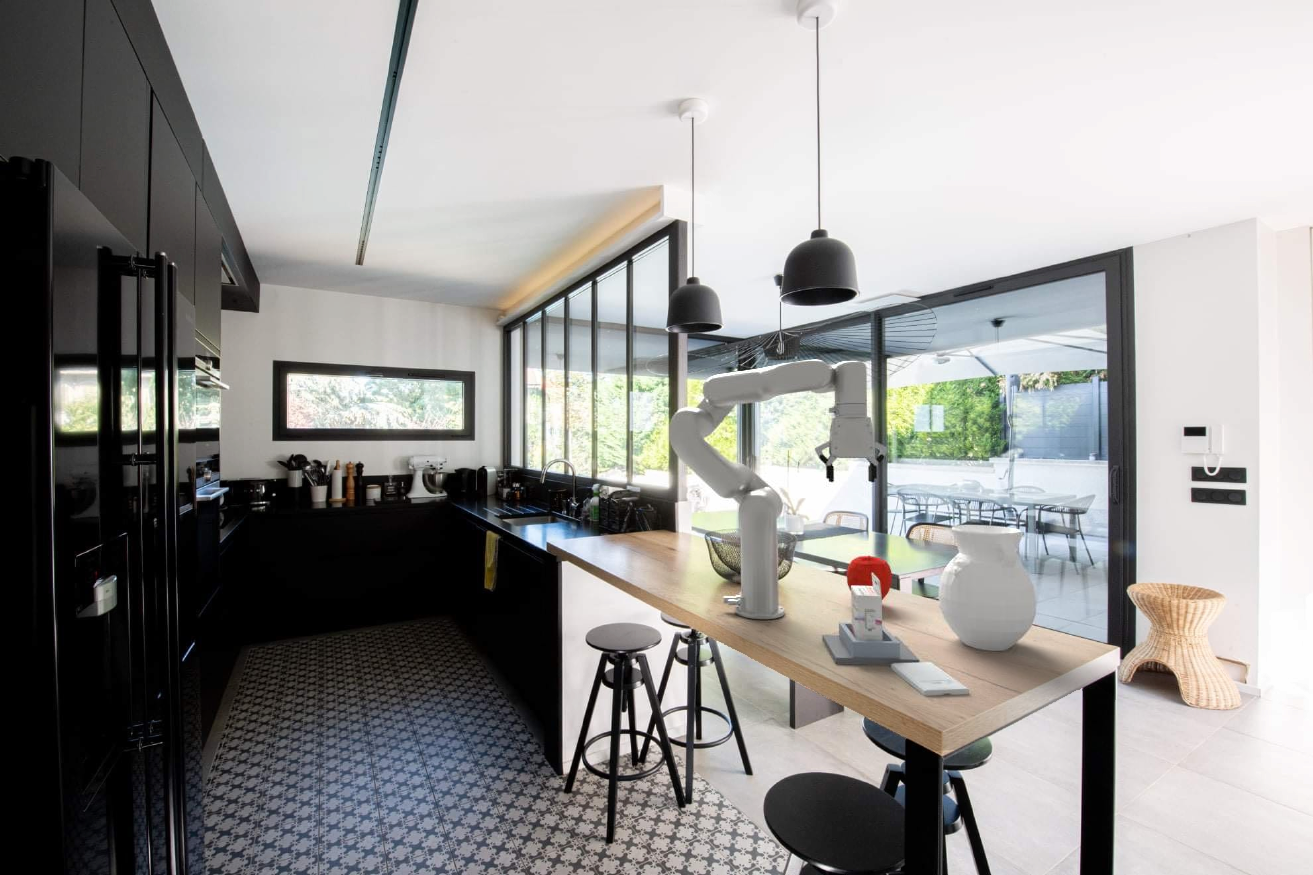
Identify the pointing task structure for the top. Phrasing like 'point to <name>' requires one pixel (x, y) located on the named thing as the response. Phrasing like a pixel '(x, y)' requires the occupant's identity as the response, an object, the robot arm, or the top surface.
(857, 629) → the ink cartridge box
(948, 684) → the external hard drive
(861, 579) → the apple
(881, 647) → the dock
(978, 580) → the white vase
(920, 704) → the top surface
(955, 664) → the top surface
